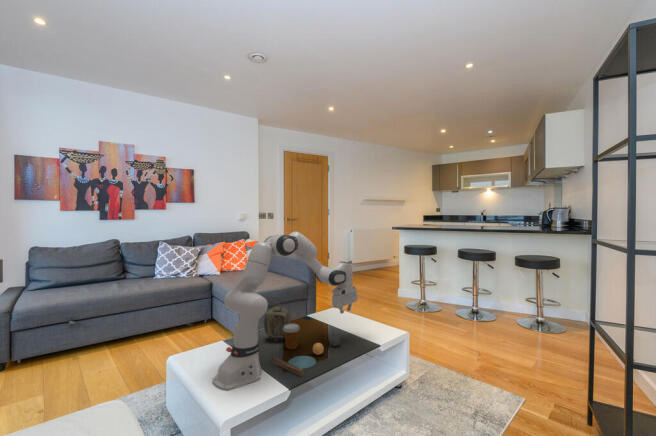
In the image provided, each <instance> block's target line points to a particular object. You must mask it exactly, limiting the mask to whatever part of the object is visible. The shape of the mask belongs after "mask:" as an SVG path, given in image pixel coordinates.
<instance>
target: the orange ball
mask: <svg viewBox="0 0 656 436" xmlns="http://www.w3.org/2000/svg"><path fill="white" fill-rule="evenodd" d="M324 350H325V348H324V345H323V343H321V342H316V343H314V344H313V346H312V352H313V353H314V355H317V356H319V355H322V354H323V353H324Z"/></svg>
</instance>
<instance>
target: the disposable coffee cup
mask: <svg viewBox="0 0 656 436" xmlns="http://www.w3.org/2000/svg"><path fill="white" fill-rule="evenodd" d="M300 329H301V328H300V325H299V324H297V323H290V324H287V325H285V326H284V328H283V330H284V336H283V337H284V340H285V341H284V343H285V348H286V349H287V350H296V349H297V348H298V344H299V343H298V341H299V333H300Z"/></svg>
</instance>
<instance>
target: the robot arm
mask: <svg viewBox="0 0 656 436" xmlns="http://www.w3.org/2000/svg"><path fill="white" fill-rule="evenodd" d="M292 254H294V255H295V256H296V258H299V259H300V260H301V262H304V263H305V265H307V266H308V268H309V269H310V270H311V271H312V272H313V273H314V275H315V277H316V279H317V281H318V282H319V283H321V284H325V285H329V286H333V287H334V286H335V287H334V288H333V289H331V290H332V291H331V294H332V297H331V304H332V307H333V308H335V309H339V314H344V313H345V310H344V309H343V308H344V306H347V307H346V310H347V311H348V312H350V311H352V306H353V304H354V303H355V302H357V301H358V291H357V287H356V286H353V285H354V284H353V265H352V264H351V262H347V261H339V262H338V263H337V264H336V265H335V266H334V267H328V266H325V265H323V264H322V263H321V262H320V261H319V260H318V259H317V258H316V257H317V256H318V249H317V247H316V245H315V244H314V243H312V241H311V240H310V239H309V238H308V237H307V236H305V235H303V233H301V232H299V231H292V232H291V233H289V234H276V235H270V236H268V237H267V238H266V239H264V241H258V242H256V243H255V244H254V245H253V246H252V248H251V250H250V252H249V254H248V257H247V260H246V263H245V266H244V269H243V272H242V274H241V276H240V278H239V280H238V281H237V283H236V285H235V286H234V287H233V288H232V289H231V290H230V291H228V292H227V293H226V295H225V296H224V306H225V307H226V308H227V309H228V310H229V311H231V312H233V313H235V314H238V315H239V321H238V323H237V324H236V325H235V326H234V328H233V346H232V347H230V346H227V347H226V350H225V352H228V353H230V354H229V355H228V356H227V357H226V358H225V360H224V361H223V362H222V363H221V364H220V365H219V367H218V369H217V374H216V375H215V376H213V378H212V380H211V381H212V384H213V386H215V387H216V388H218V389H220V390H223V391H231V390H234V389H237V388H240V387H242V386H245V385H247V384H251V383H253V382H256V381H259V380H260V379H261V377H260V376H261V375H262V372H263V370H262V366H261V363H260V356H259V351H260V342H259V324H260V321H261V318H262V317H263V316H265V314H266V313H267V312H268V311H267V310H268V306H269V303H268V300H267V298H265V297H264V296H262V295H261V294H259V293H256V290H257V289H258V288H259V286H261V285H263V283H264V282H265V280H266V278H267V274H268V272H269V271H268V270H269V268H270V264H271V260H272V259H273V257H275V256H276V257H287V256H291V255H292Z"/></svg>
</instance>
